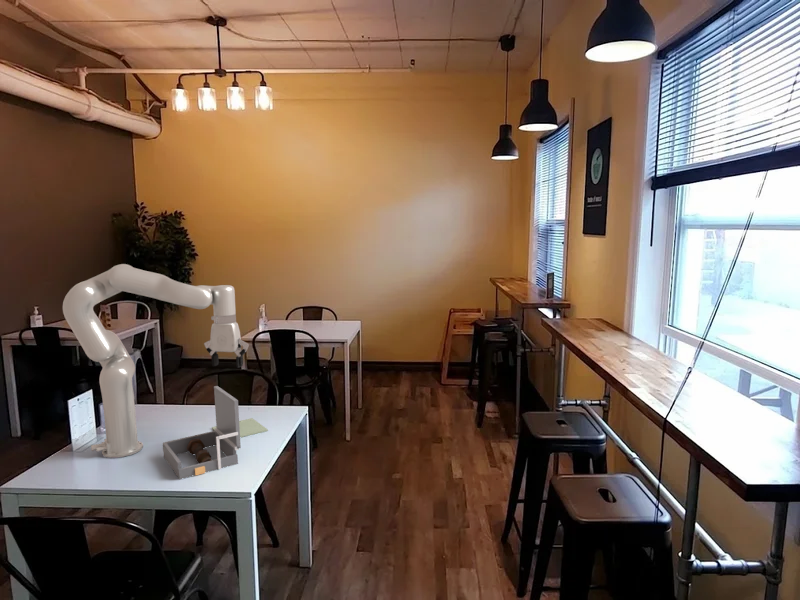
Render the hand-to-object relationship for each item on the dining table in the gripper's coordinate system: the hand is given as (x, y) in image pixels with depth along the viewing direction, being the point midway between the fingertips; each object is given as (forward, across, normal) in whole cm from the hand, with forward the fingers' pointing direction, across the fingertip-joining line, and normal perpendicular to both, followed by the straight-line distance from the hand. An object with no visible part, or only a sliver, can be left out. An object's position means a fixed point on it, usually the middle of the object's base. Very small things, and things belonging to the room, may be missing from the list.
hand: (227, 366), depth 194 cm
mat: (+26, 0, +6) cm, 27 cm away
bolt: (+27, +1, -21) cm, 34 cm away
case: (+26, +1, -21) cm, 34 cm away
